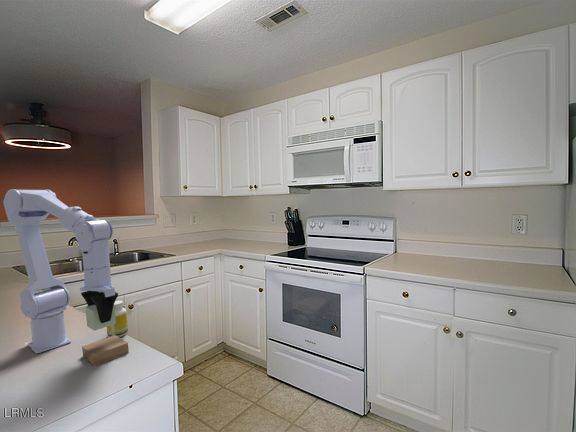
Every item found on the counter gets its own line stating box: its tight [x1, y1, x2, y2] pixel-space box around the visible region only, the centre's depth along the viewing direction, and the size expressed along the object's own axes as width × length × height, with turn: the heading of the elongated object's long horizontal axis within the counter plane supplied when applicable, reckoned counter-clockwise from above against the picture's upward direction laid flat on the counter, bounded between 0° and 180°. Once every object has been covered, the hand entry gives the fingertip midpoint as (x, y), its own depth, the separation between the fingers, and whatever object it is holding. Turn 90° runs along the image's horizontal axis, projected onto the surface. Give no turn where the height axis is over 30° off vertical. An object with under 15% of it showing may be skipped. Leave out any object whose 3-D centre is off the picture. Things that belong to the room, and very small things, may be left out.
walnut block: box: [81, 335, 130, 367], centre depth 79 cm, size 8×8×3 cm
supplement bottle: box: [106, 300, 129, 338], centre depth 91 cm, size 5×5×10 cm
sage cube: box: [84, 305, 116, 332], centre depth 78 cm, size 5×5×5 cm
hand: (101, 319), depth 79 cm, fingers closed on sage cube, 5 cm apart
